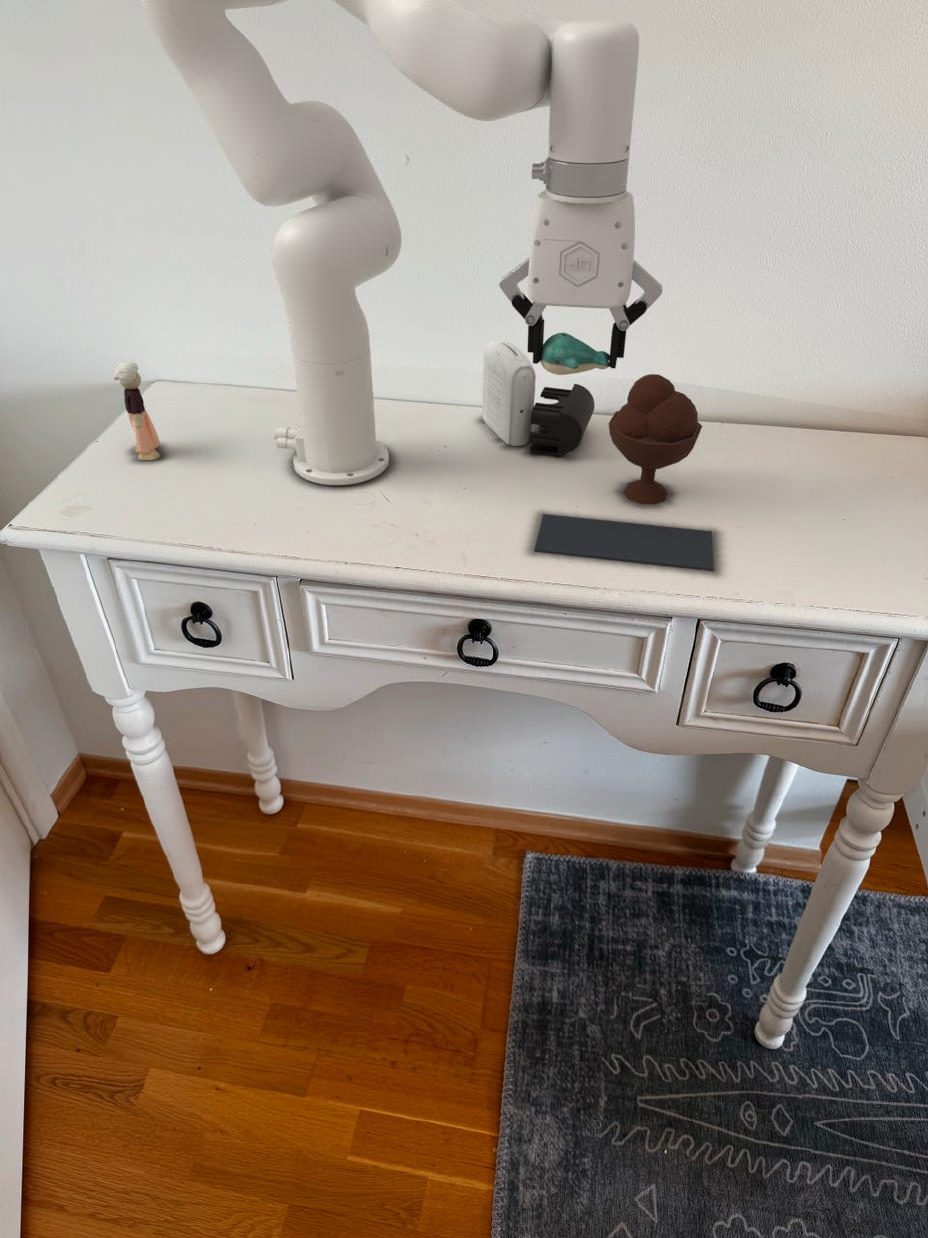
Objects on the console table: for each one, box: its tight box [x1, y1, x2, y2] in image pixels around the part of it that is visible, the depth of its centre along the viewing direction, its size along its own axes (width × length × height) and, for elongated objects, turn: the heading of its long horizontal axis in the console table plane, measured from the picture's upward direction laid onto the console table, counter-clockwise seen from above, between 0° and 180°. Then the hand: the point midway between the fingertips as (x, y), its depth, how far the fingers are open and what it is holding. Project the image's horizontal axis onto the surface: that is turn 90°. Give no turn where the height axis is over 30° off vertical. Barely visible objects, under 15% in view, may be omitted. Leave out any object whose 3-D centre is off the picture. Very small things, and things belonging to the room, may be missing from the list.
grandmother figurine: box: [112, 361, 161, 461], centre depth 117 cm, size 8×4×13 cm, turn 35°
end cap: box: [528, 383, 595, 458], centre depth 121 cm, size 10×7×7 cm
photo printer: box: [481, 340, 537, 447], centre depth 122 cm, size 10×4×12 cm, turn 23°
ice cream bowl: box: [608, 373, 703, 505], centre depth 107 cm, size 11×11×15 cm
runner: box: [533, 513, 714, 572], centre depth 103 cm, size 20×8×1 cm, turn 79°
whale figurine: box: [540, 332, 610, 376], centre depth 93 cm, size 6×7×4 cm
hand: (575, 360), depth 94 cm, fingers closed on whale figurine, 7 cm apart
